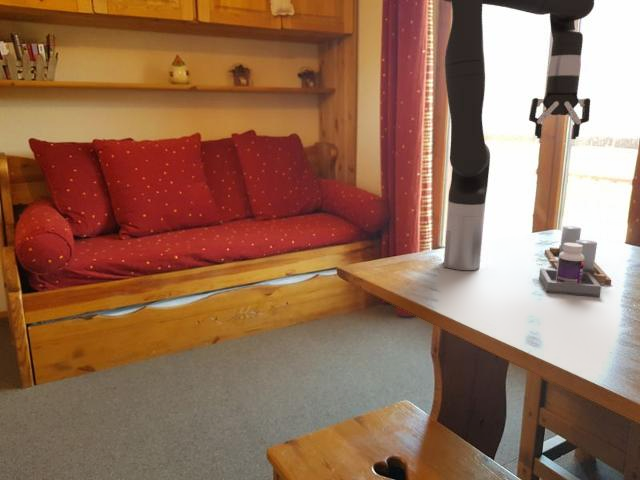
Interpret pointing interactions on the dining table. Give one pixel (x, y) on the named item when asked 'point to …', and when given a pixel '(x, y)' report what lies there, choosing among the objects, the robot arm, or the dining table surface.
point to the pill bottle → (570, 264)
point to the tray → (569, 284)
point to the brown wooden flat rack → (599, 275)
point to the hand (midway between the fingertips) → (556, 138)
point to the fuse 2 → (588, 253)
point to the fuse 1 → (569, 235)
